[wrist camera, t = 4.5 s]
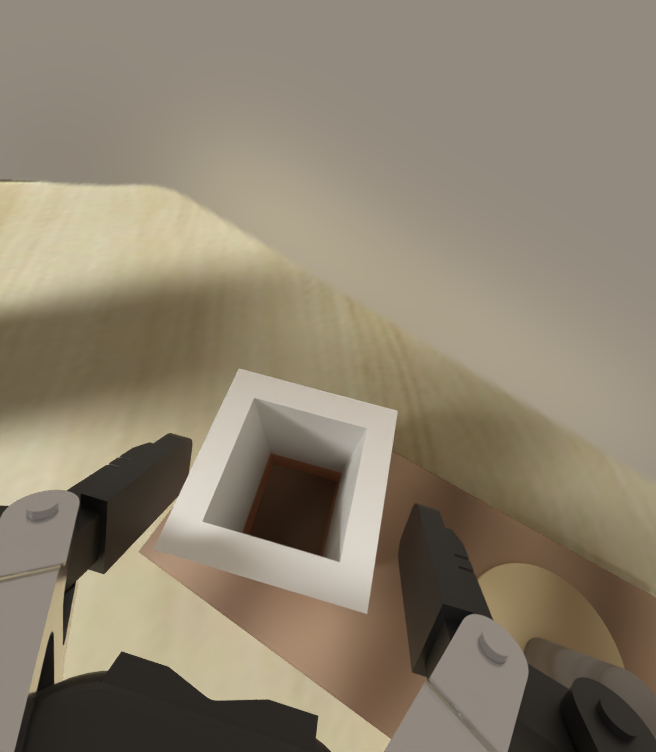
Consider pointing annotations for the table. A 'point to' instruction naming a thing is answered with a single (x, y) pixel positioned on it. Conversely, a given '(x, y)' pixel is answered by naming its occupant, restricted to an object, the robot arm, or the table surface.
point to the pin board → (386, 608)
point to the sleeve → (297, 451)
